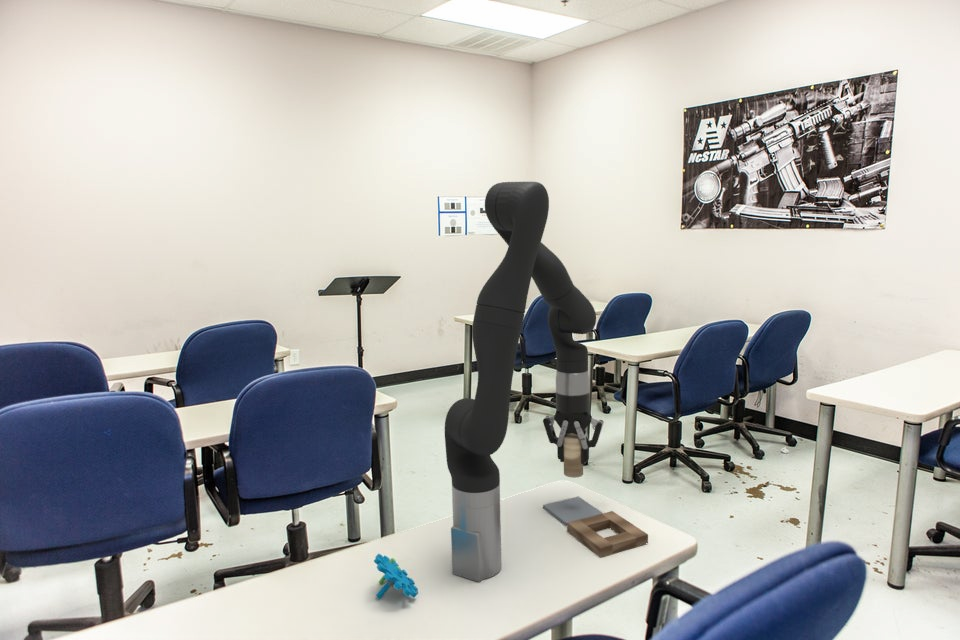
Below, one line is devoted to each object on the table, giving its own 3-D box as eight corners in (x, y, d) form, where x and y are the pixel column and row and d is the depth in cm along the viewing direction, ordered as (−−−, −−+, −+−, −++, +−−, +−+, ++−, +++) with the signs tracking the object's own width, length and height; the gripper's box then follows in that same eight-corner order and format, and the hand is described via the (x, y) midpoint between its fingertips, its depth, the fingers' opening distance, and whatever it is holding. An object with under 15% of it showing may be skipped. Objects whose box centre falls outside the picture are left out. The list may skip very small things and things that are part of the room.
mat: (603, 516, 137) (603, 513, 136) (566, 526, 132) (566, 522, 132) (578, 499, 146) (578, 496, 146) (542, 508, 142) (542, 504, 141)
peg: (578, 478, 135) (578, 440, 133) (560, 475, 137) (560, 437, 136) (586, 471, 138) (585, 434, 137) (568, 468, 141) (567, 431, 139)
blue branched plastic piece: (423, 599, 104) (380, 564, 103) (400, 627, 104) (356, 592, 102) (417, 573, 115) (378, 541, 114) (396, 598, 114) (356, 566, 113)
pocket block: (647, 543, 124) (648, 534, 124) (600, 557, 119) (600, 548, 119) (612, 519, 135) (612, 510, 135) (567, 531, 130) (567, 522, 130)
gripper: (537, 392, 134) (539, 465, 136) (601, 396, 129) (602, 471, 131) (545, 383, 141) (547, 453, 143) (607, 387, 136) (607, 459, 138)
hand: (573, 461), depth 137 cm, fingers closed on peg, 4 cm apart
